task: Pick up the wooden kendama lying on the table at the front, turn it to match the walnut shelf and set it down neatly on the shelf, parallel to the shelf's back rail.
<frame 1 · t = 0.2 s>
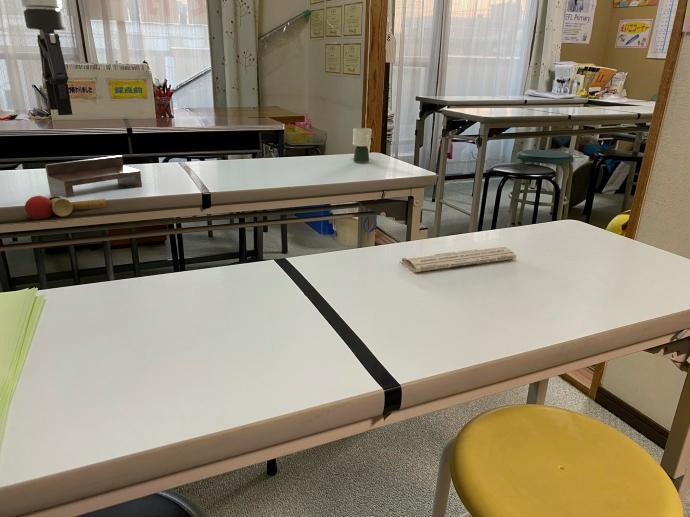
hand: (60, 112, 118), 25 cm above the table, tool pointing down, fingers open, 13 cm apart
shelf: (97, 191, 151), on the table
kendama: (69, 216, 127), on the table
newspaper: (457, 262, 106), on the table
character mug: (361, 162, 205), on the table
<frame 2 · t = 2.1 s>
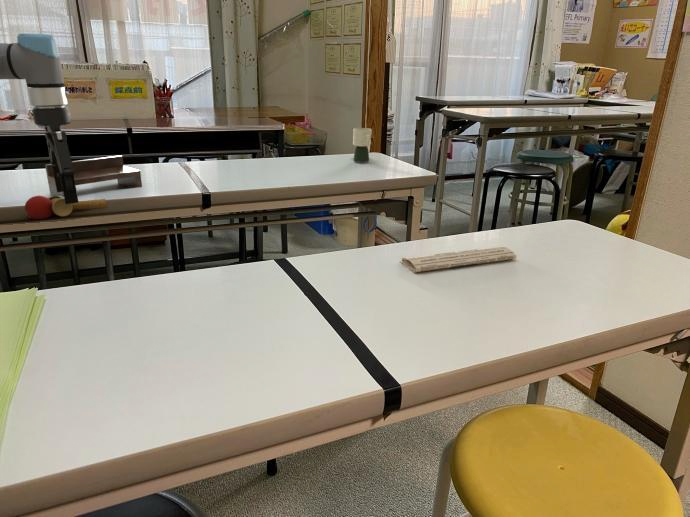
hand: (67, 197, 126), 5 cm above the table, tool pointing down, fingers open, 13 cm apart
nothing on the table moved.
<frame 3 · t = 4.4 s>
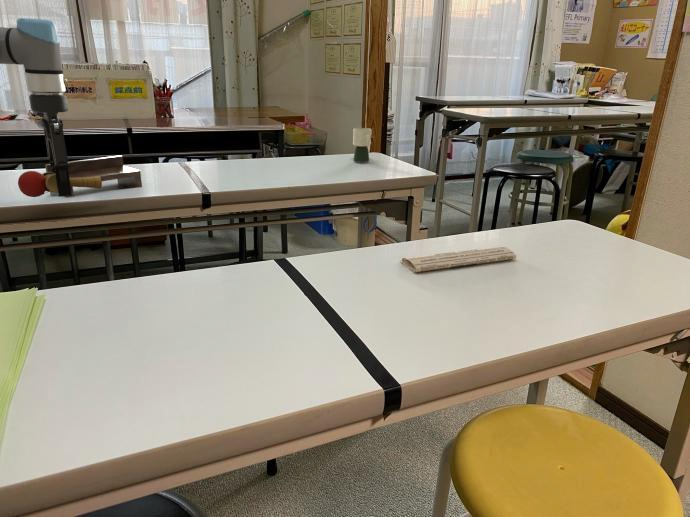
hand: (62, 191, 125), 6 cm above the table, tool pointing down, fingers closed on kendama, 7 cm apart
kendama: (63, 193, 125), point 6 cm above the table, touching gripper
everything else where it was.
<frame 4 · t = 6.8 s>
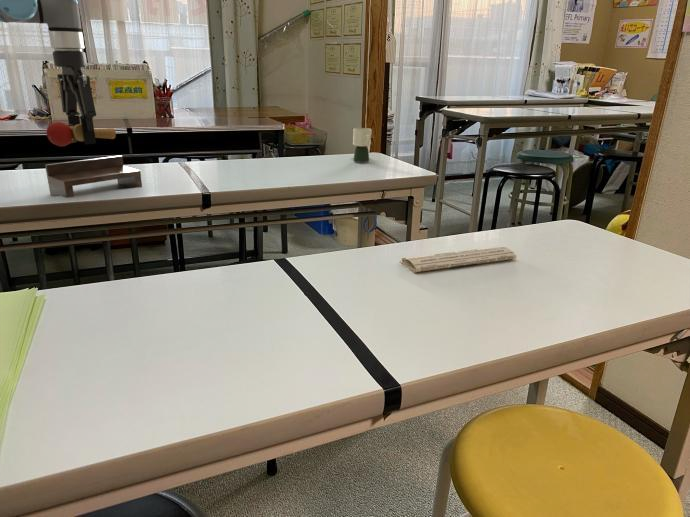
hand: (83, 141, 138), 15 cm above the table, tool pointing down, fingers closed on kendama, 7 cm apart
kendama: (83, 143, 139), point 15 cm above the table, touching gripper
everything else where it was.
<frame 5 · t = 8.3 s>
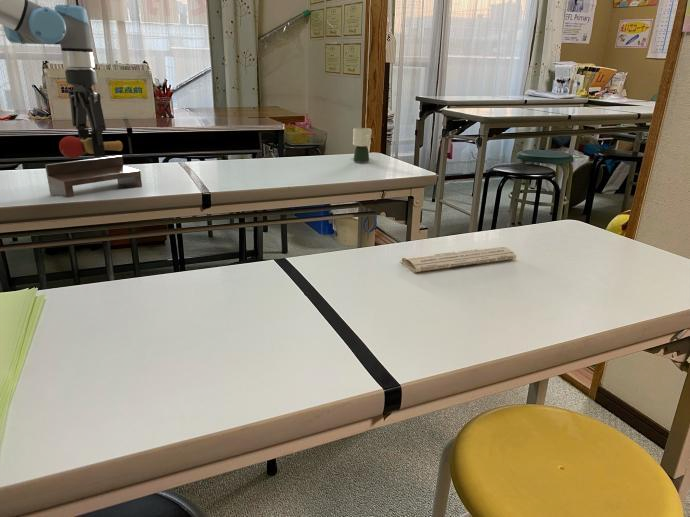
hand: (93, 154, 147), 11 cm above the table, tool pointing down, fingers closed on kendama, 7 cm apart
kendama: (93, 155, 147), point 10 cm above the table, touching gripper
everything else where it was.
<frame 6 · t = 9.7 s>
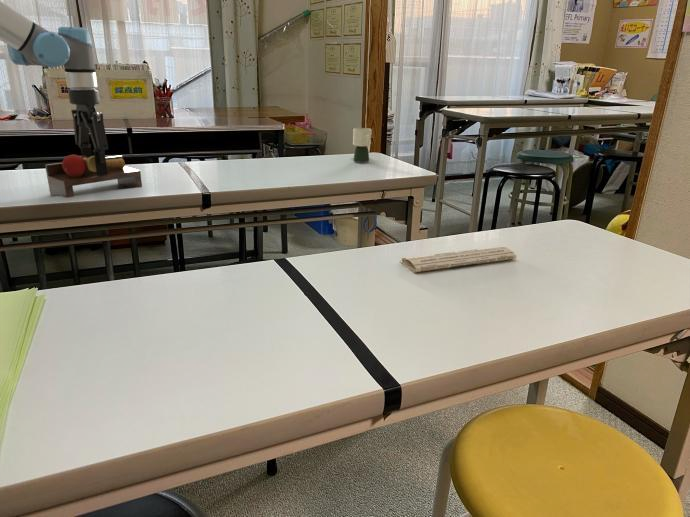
hand: (95, 172, 148), 6 cm above the table, tool pointing down, fingers closed on kendama, 7 cm apart
kendama: (95, 173, 149), point 5 cm above the table, touching gripper, shelf
everything else where it was.
when the fingers open (6 cm above the table, at t = 9.7 s): kendama stays where it is, resting on shelf.
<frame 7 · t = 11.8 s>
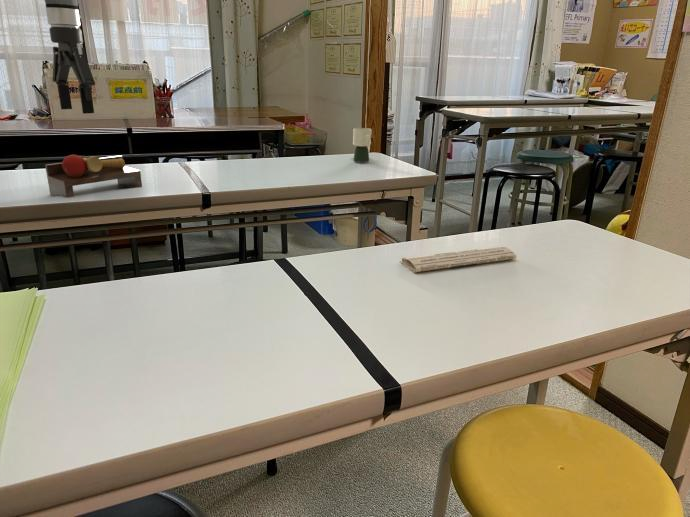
hand: (77, 111, 142), 23 cm above the table, tool pointing down, fingers open, 13 cm apart
kendama: (95, 173, 149), point 5 cm above the table, touching shelf
everything else where it was.
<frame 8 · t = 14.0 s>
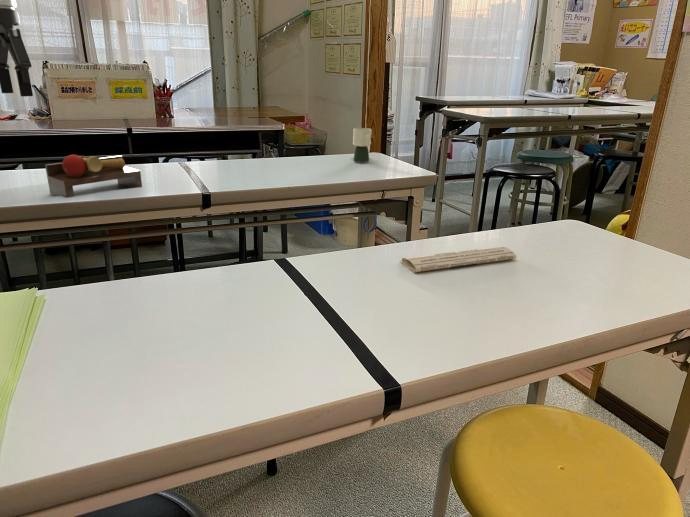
hand: (17, 94, 140), 27 cm above the table, tool pointing down, fingers open, 13 cm apart
nothing on the table moved.
at the end: kendama inside the target area on the shelf (0.4 cm from its centre), point 5.3 cm above the shelf's base; kendama tilted 0°; the gripper is holding nothing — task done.
